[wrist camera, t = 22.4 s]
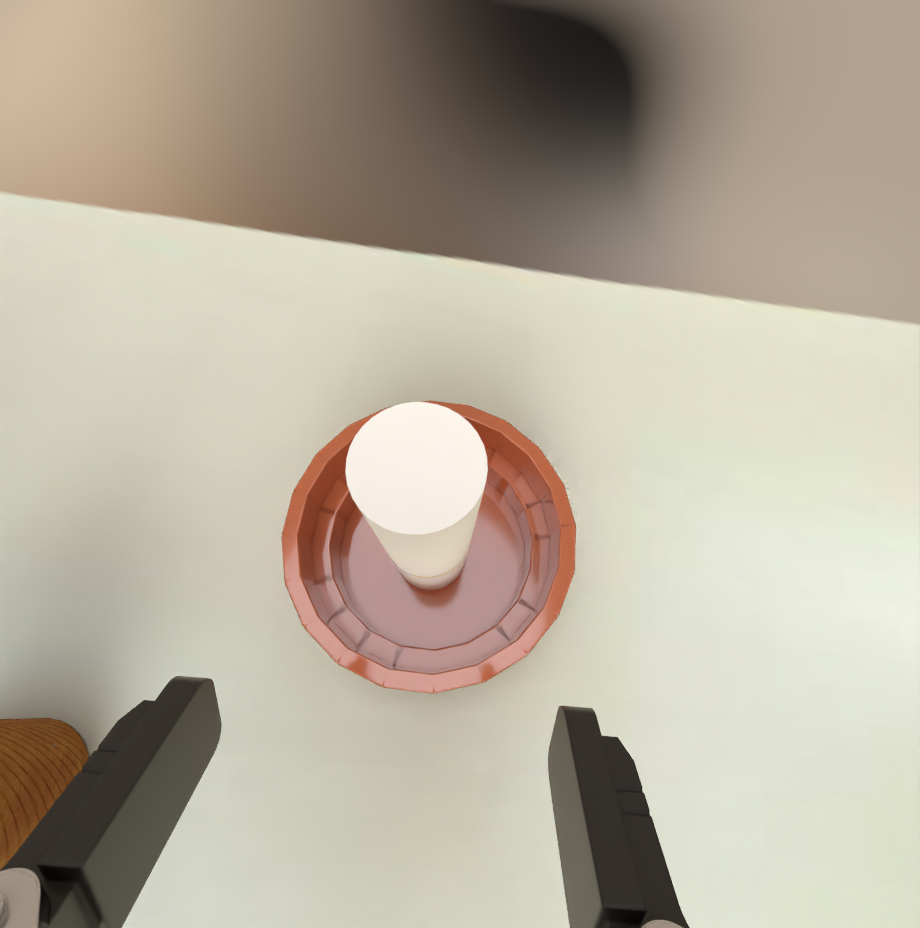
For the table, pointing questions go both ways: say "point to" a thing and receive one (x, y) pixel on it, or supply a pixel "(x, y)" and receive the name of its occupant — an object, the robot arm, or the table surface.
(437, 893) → the table surface
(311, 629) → the bowl
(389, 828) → the table surface
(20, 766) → the disposable coffee cup
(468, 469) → the tube
